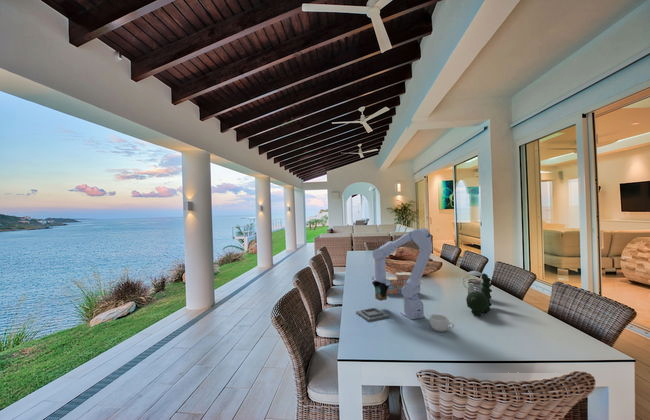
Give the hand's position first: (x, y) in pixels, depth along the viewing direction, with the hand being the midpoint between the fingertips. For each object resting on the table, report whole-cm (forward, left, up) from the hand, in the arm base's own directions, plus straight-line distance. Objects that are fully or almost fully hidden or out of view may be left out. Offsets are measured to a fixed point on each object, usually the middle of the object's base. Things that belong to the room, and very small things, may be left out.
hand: (381, 295), depth 151 cm
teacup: (-35, -8, -7) cm, 36 cm away
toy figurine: (-27, -42, -7) cm, 50 cm away
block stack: (0, 0, -2) cm, 2 cm away
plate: (-7, +10, -7) cm, 14 cm away
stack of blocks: (+18, -26, -7) cm, 32 cm away
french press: (-9, -59, -7) cm, 60 cm away
